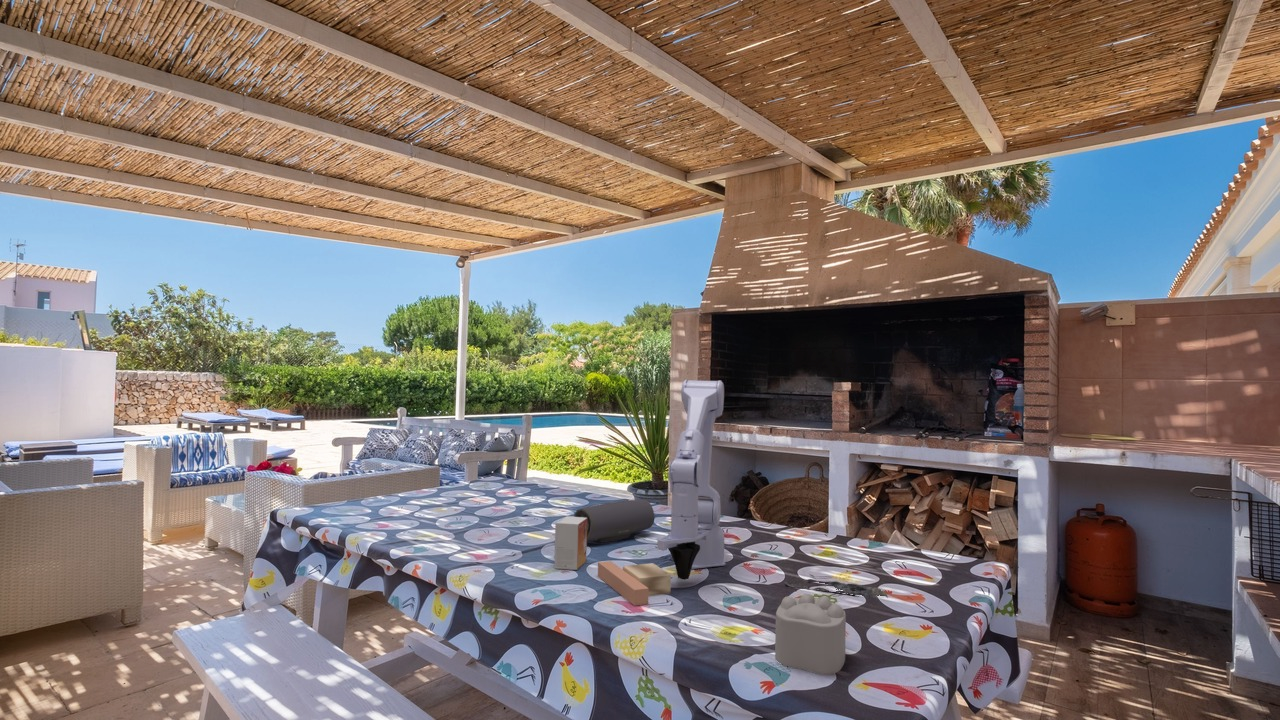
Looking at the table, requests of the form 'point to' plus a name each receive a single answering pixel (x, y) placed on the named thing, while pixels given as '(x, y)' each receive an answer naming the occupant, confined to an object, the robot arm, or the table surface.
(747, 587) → the table surface
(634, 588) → the terracotta batten
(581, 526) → the small box
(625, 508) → the bluetooth speaker
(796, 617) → the lumpy-topped squat cylinder
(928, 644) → the table surface
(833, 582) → the driftwood
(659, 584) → the beech block
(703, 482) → the robot arm
